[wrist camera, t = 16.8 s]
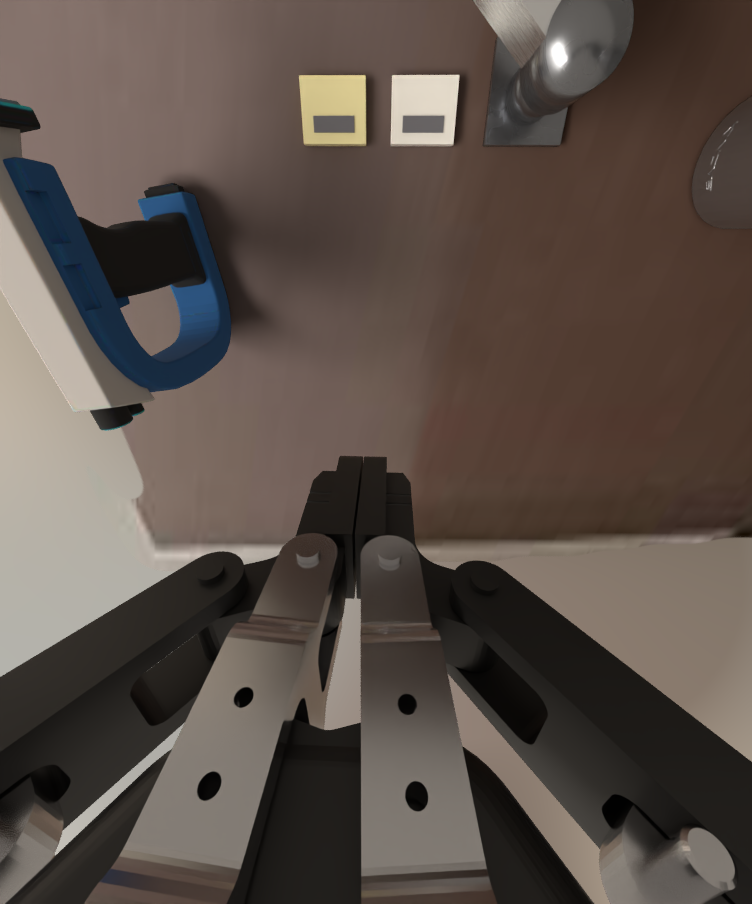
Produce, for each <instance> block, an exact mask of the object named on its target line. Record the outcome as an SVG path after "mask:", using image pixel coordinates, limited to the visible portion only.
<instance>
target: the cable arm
mask: <svg viewBox="0 0 752 904" xmlns="http://www.w3.org/2000/svg"><path fill="white" fill-rule="evenodd" d="M473 1H474V3H475V4H476V6H477V7H478V8H479V10H480V11H481V13H482V14H483V15H484V17H485V18H486V20H487V21H488V22H489V24H490V25H491V27H492V28H493V29H494V31H495V32H496V34H497V35H498V36H499V38H500V39H501V41H502V42H503V43H504V45H505V46H506V48H507V49H508V50H509V52H510V53H511V55H512V56H513V57H514V59H515V60H516V62H517V63H518V64H519V66H520V67H521V69H520V89H521V94H522V97H523V99H524V101H525V103H526V104H527V106H528V107H529V108H530V109H531V110H532V111H534V112H536V113H538V114H541V115H552V114H556V113H558V112H560V111H562V110H564V109H565V108H567V107H568V106H569V105H571V104H572V103H574V102H575V101H576V100H578V99H579V98H581V97H582V96H583V95H585V94H586V93H588V92H589V91H590V90H592V89H593V88H595V87H596V86H597V85H599V84H600V83H602V82H603V81H604V80H605V79H606V78H608V76H609V75H610V74H611V73H612V72H613V71H614V70H615V68H616V67H617V66H618V64H619V62H620V61H621V59H622V57H623V55H624V54H625V51H626V49H627V47H628V44H629V41H630V38H631V33H632V29H633V20H634V10H633V2H632V0H473Z"/></svg>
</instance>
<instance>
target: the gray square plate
mask: <svg viewBox="0 0 752 904" xmlns="http://www.w3.org/2000/svg"><path fill="white" fill-rule="evenodd" d="M520 69H521V67H520V66H519V64H518V63H517V62H516V60H515V59H514V57H513V56H512V55H511V53H510V52H509V50H508V49H507V48H506V46H505V45H504V43H503V42H502V41H501V39H500V38H499V37H497V39H496V41H495V49H494V58H493V66H492V74H491V82H490V91H489V99H488V107H487V115H486V123H485V132H484V140H483V146H527V147H557V146H559V145H560V143H561V138H562V133H563V129H564V124H565V119H566V114H567V109H568V107H567V108H565V109H564V110H562V111H560V112H558V113H556V114H552V115H541V114H538V113H536V112H534V111H532V110H531V109H530V108H529V107H528V106H527V104H526V103H525V101H524V99H523V97H522V94H521V89H520Z"/></svg>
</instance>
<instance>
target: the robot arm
mask: <svg viewBox="0 0 752 904" xmlns="http://www.w3.org/2000/svg"><path fill="white" fill-rule="evenodd" d="M692 197H693V204H694V206H695V209H696V211H697V213H698V214H699V216H700V217H701V218H702V219H703V221H705V222H706V223H708V224H710V225H711V226H714V227H718V228H722V229H752V96H751V97H750V98H748V99H747V100H745V101H744V102H742V103H741V104H739V105H738V106H737V107H736V108H735V109H734V110H733V111H732V112H731V113H729V114H728V115H727V116H726V117H725V118H724V119H723V121H722V122H721V123H720V124H719V126H718V127H717V128H716V129H715V130H714V132H713V133H712V135H711V136H710V138H709V140H708V141H707V143H706V144H705V146H704V148H703V150H702V152H701V154H700V157H699V159H698V161H697V164H696V168H695V171H694V175H693V182H692ZM386 469H387V457H364V463H363V457H361V456H340V457H339V461H338V466H337V470H336V471H322V472H321V473H320V474H319V475H318V476H317V477H316V478H315V479H314V480H313V483H312V486H311V489H310V494H309V496H308V499H307V503H306V505H305V509H304V512H303V515H302V518H301V521H300V525H299V528H298V531H297V534H296V537H294V538H292V539H291V540H289V541H288V542H287V543H286V544H285V545H284V546H283V547H282V549H281V551H280V553H279V555H278V556H276V557H273V558H271V559H268V560H264V561H260V562H255V563H251V564H246V565H244V564H243V562H242V560H241V558H240V557H239V556H237V555H236V554H233V553H230V552H214V553H210V554H206V555H204V556H201V557H200V558H198V559H196V560H194V561H192V562H191V563H189V564H187V565H186V566H184V567H183V568H181V569H179V570H178V571H176V572H174V573H173V574H171V575H169V576H168V577H166V578H164V579H163V580H161V581H159V582H158V583H156V584H154V585H153V586H151V587H149V588H148V589H146V590H144V591H143V592H141V593H139V594H138V595H136V596H134V597H133V598H131V599H129V600H128V601H126V602H124V603H123V604H121V605H119V606H118V607H116V608H115V609H113V610H111V611H109V612H108V613H106V614H104V615H103V616H101V617H99V618H98V619H96V620H95V621H93V622H91V623H89V624H88V625H86V626H84V627H83V628H81V629H80V630H78V631H76V632H74V633H73V634H71V635H70V636H68V637H66V638H65V639H63V640H61V641H60V642H58V643H56V644H55V645H53V646H52V647H50V648H48V649H46V650H45V651H43V652H41V653H40V654H38V655H36V656H35V657H33V658H31V659H30V660H28V661H26V662H25V663H23V664H22V665H20V666H18V667H16V668H15V669H13V670H11V671H10V672H8V673H6V674H5V675H3V676H2V677H0V904H594V903H593V902H592V900H591V899H590V898H589V896H588V895H587V894H586V892H585V891H584V890H583V889H582V887H581V886H580V885H579V883H578V882H577V880H576V879H575V878H574V876H573V875H572V874H571V872H570V871H569V870H568V868H567V867H566V866H565V864H564V863H563V862H562V860H561V859H560V858H559V856H558V855H557V854H556V853H555V851H554V850H553V848H552V847H551V846H550V844H549V843H548V842H547V840H546V839H545V838H544V836H543V835H542V834H541V832H540V831H539V830H538V828H537V827H536V826H535V824H534V823H533V822H532V820H531V819H530V818H529V816H528V815H527V814H526V812H525V811H524V810H523V808H522V807H521V806H520V804H519V803H518V802H517V800H516V799H515V798H514V796H513V795H512V794H511V792H510V791H509V790H508V788H507V787H506V786H505V785H504V783H503V782H502V781H501V780H500V779H499V778H498V777H497V775H496V774H495V773H494V772H493V771H492V770H491V769H490V768H489V767H488V766H487V765H486V764H485V763H484V762H482V761H481V760H480V759H479V758H478V757H477V756H475V755H474V754H472V753H471V752H470V751H468V750H467V749H465V748H464V747H462V743H461V738H460V733H459V728H458V723H457V718H456V713H455V708H454V703H453V698H452V693H451V688H450V684H449V678H448V674H449V675H450V676H451V678H452V679H453V680H454V681H455V682H456V683H457V685H458V686H459V687H460V688H461V689H462V690H463V691H464V692H465V694H466V695H467V696H468V697H469V698H470V700H471V701H472V702H473V703H474V704H475V705H476V706H477V707H478V709H479V710H480V711H481V712H482V713H483V715H484V716H485V717H486V718H487V719H488V720H489V721H490V723H491V724H492V725H493V726H494V727H495V728H496V730H497V731H498V732H499V733H500V734H501V735H502V736H503V738H504V739H505V740H506V741H507V742H508V743H509V745H510V746H511V747H512V748H513V749H514V750H515V752H516V753H517V754H518V755H519V756H520V757H521V758H522V760H523V761H524V762H525V763H526V764H527V765H528V767H529V768H530V769H531V770H532V771H533V772H534V774H535V775H536V776H537V777H538V778H539V779H540V780H541V782H542V783H543V784H544V785H545V786H546V787H547V789H548V790H549V791H550V792H551V793H552V794H553V795H554V797H555V798H556V799H557V800H558V801H559V802H560V804H561V805H562V806H563V807H564V808H565V809H566V810H567V812H568V813H569V814H570V815H571V816H572V817H573V818H574V820H575V821H576V822H577V823H578V824H579V826H581V828H582V829H583V830H584V831H585V832H586V833H587V835H588V836H589V837H590V838H591V839H592V841H593V842H594V843H595V844H596V845H597V846H598V847H599V849H600V853H599V865H600V874H601V878H602V883H603V886H604V889H605V892H606V895H607V897H608V900H609V902H610V904H752V762H751V761H750V760H748V759H747V758H746V757H744V756H743V755H742V754H741V753H739V752H738V751H737V750H735V749H734V748H733V747H732V746H730V745H729V744H728V743H726V742H725V741H724V740H722V739H721V738H720V737H719V736H717V735H716V734H714V733H713V732H712V731H711V730H710V729H708V728H707V727H706V726H704V725H703V724H702V723H701V722H699V721H698V720H696V719H695V718H694V717H693V716H692V715H690V714H689V713H687V712H686V711H685V710H684V709H682V708H681V707H680V706H679V705H677V704H676V703H675V702H673V701H672V700H671V699H670V698H668V697H667V696H666V695H664V694H663V693H662V692H661V691H659V690H658V689H657V688H655V687H654V686H653V685H651V684H650V683H649V682H648V681H646V680H645V679H644V678H642V677H641V676H640V675H638V674H637V673H636V672H635V671H633V670H632V669H631V668H630V667H628V666H627V665H626V664H624V663H623V662H622V661H620V660H619V659H618V658H617V657H615V656H614V655H613V654H611V653H610V652H609V651H608V650H606V649H605V648H604V647H602V646H601V645H600V644H598V643H597V642H596V641H595V640H593V639H592V638H591V637H589V636H588V635H587V634H586V633H584V632H583V631H582V630H580V629H579V628H578V627H577V626H575V625H574V624H573V623H571V622H570V621H569V620H568V619H566V618H565V617H564V616H562V615H561V614H560V613H558V612H557V611H556V610H555V609H553V608H552V607H551V606H549V605H548V604H547V603H545V602H544V601H543V600H542V599H540V598H539V597H538V596H537V595H535V594H534V593H533V592H531V591H530V590H529V589H527V588H526V587H525V586H524V585H522V584H521V583H520V582H518V581H517V580H516V579H515V578H513V577H512V576H511V575H509V574H508V573H507V572H506V571H504V570H503V569H501V568H500V567H498V566H496V565H494V564H491V563H489V562H485V561H469V562H465V563H463V564H461V565H460V566H458V567H457V568H456V570H452V569H449V568H446V567H442V566H439V565H437V564H434V563H432V562H430V561H429V560H427V559H426V558H425V557H424V556H423V555H422V554H421V553H420V552H419V551H418V549H417V547H416V544H415V537H414V524H413V511H412V498H411V485H410V482H409V480H408V479H407V478H406V476H405V475H404V474H403V473H386ZM355 587H356V588H357V598H358V599H361V723H358V724H354V725H350V726H346V727H342V728H338V729H334V730H324V725H325V711H326V701H327V696H328V690H329V686H330V681H331V677H332V672H333V667H334V662H335V657H336V652H337V648H338V643H339V638H340V633H341V628H342V617H343V613H344V605H345V598H354V597H355ZM193 636H194V637H193ZM189 639H190V640H189ZM182 644H183V645H182ZM178 647H179V648H178ZM174 650H175V651H174ZM170 653H171V654H170ZM166 656H167V657H166ZM162 659H163V660H162ZM158 662H159V663H158ZM155 664H156V665H155ZM151 667H152V668H151ZM147 670H148V671H147ZM184 722H185V723H184ZM183 723H184V725H183V728H182V730H181V732H180V734H179V736H178V738H177V740H176V742H175V744H174V746H173V748H172V749H171V750H170V751H168V752H167V753H166V754H164V755H163V756H162V757H161V758H159V759H158V760H157V761H156V762H154V763H153V764H152V765H151V766H150V767H149V768H148V769H146V771H144V772H143V773H142V774H141V775H140V776H139V777H138V778H137V779H136V780H135V781H134V782H133V783H132V784H131V785H129V786H128V788H126V790H124V791H123V792H122V793H121V794H120V795H119V796H118V797H117V798H116V799H115V800H114V801H113V802H112V803H111V804H109V805H108V806H107V807H106V808H105V809H104V810H103V811H102V812H101V813H100V814H99V815H98V816H97V817H96V818H95V819H94V820H93V821H92V822H91V823H89V824H88V826H87V827H85V828H84V829H83V830H82V831H81V832H80V833H79V834H78V835H77V836H76V837H75V838H74V839H73V840H72V841H71V842H69V843H68V844H67V845H66V846H65V847H64V848H63V849H62V850H61V851H60V852H59V853H58V854H57V855H56V856H55V851H56V849H57V846H58V844H59V841H60V838H61V835H62V830H64V829H65V828H66V827H67V826H68V825H69V824H70V823H71V822H73V821H74V820H75V819H76V818H77V817H78V816H79V815H80V814H82V813H83V812H84V811H85V810H86V809H87V808H88V807H90V806H91V805H92V804H93V803H94V802H95V801H96V800H97V799H99V798H100V797H101V796H102V795H103V794H104V793H105V792H106V791H107V790H109V789H110V788H111V787H112V786H113V785H114V784H115V783H117V782H118V781H119V780H120V779H121V778H122V777H123V776H125V775H126V774H127V773H128V772H129V771H130V770H131V769H132V768H134V767H135V766H136V765H137V764H138V763H139V762H140V761H142V760H143V759H144V758H145V757H146V756H147V755H148V754H149V753H150V752H152V751H153V750H154V749H155V748H156V747H157V746H158V745H159V744H161V743H162V742H163V741H164V740H165V739H166V738H167V737H169V736H170V735H171V734H172V733H173V732H174V731H175V730H176V729H177V728H179V727H180V726H181V725H182V724H183Z"/></svg>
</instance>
